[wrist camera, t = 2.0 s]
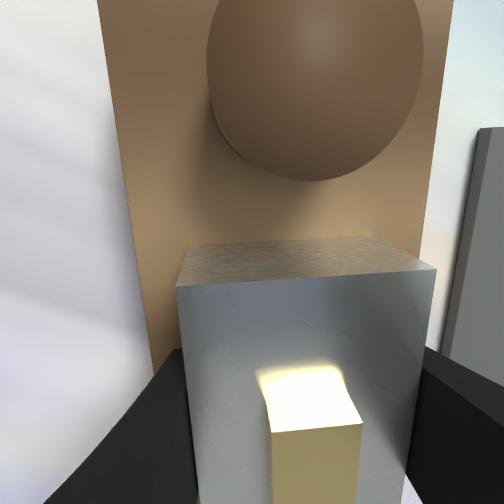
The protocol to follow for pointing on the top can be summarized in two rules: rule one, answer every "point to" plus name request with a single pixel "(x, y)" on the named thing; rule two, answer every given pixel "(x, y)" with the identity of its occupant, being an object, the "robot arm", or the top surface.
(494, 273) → the gray switch plate
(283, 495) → the lever cap
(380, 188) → the board with knob
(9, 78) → the top surface
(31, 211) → the top surface
